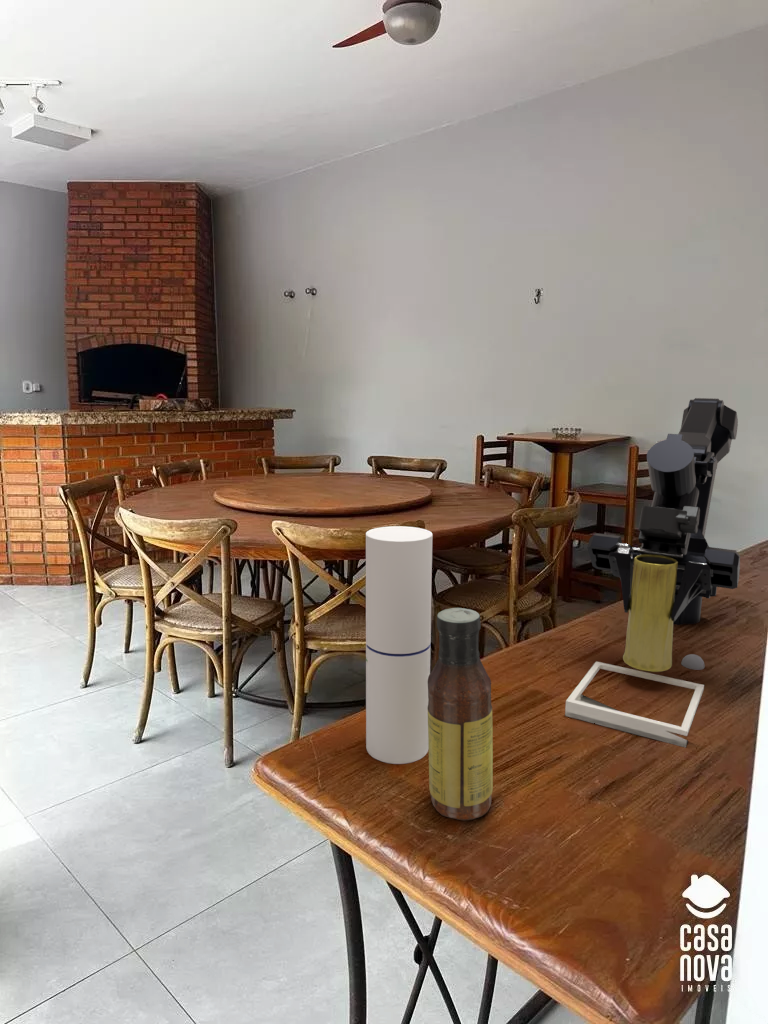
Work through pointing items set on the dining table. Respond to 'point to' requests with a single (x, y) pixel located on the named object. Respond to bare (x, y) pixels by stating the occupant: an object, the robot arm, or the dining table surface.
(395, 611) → the cylindrical container
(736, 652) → the dining table surface
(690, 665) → the mixing ball
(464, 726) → the sauce bottle
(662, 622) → the vase
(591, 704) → the tray
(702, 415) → the robot arm
